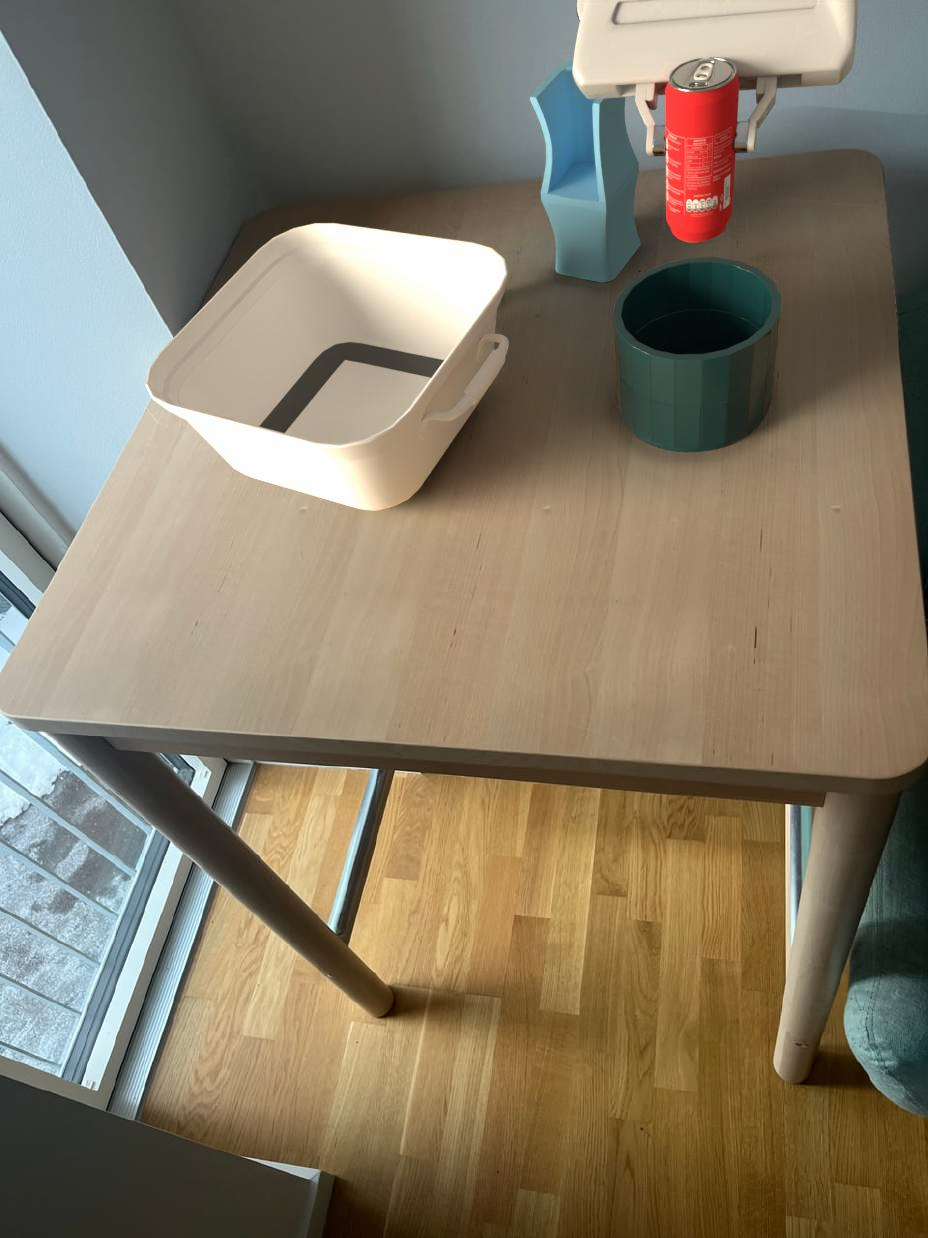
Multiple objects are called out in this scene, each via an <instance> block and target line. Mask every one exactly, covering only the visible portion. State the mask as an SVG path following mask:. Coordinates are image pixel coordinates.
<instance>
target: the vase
mask: <svg viewBox="0 0 928 1238" xmlns="http://www.w3.org/2000/svg"><path fill="white" fill-rule="evenodd" d="M529 101H530V103H531V106H532V107H533V110H534V112H535V114H536V117H537V119H538V121H539V123H540V127H541V130H542V133H543V138H544V142H545V168H544V173H543V178H542V184H541V189H540V199H541V203H542V206H543V207H544V210H545V212H546V214H547V216H548V219H549V222H550V224H551V228H552V231H553V235H554V242H555V265H554V266H555V268H554V269H555V272H556V273H557V274H558V275H562V276H567V277H571V278H575V279H576V278H577V279H583V280H587V281H591V282H592V281H593V282H596V283H597V282H598V283H609V282H611V281H613V280H615V279H616V278H617V277H618V276H619V274H621V272H622V271H623V269H624V268H625V267H626V266H627V264H628V263H629V261H630V260H631V259H632V257H633V256H634V255H635V254H636V252H637V251H638V249H640V247H641V246H642V243H641V239H640V237H639V234H638V230H637V226H636V222H635V213H634V211H635V209H634V208H635V195H636V189H637V188H636V187H637V183H638V177H639V176H638V175H639V172H640V164H639V163H640V162H639V159H638V158H637V156H636V153H635V151H634V148H633V146H632V144H631V141H630V138H629V134H628V130H627V125H626V97H620V98H603V99H588V98H587V97H585V95H584V94H583V93H582V92H581V90H580V89H579V88H578V86H577V85H576V83H575V80H574V77H573V60H569V61H566V62H564V63H561V64H560V65H559V66H558V67H557V68H556V69H555V70H554V71H552V73H551V74H550V75H549V76H548V77H547V78H546V79H545V80H544V81H543V82H542V83H541V84H540V86H538V88H537V89H536V90H535V91H534V92H533V93H532V94H531V95H530V96H529Z"/></svg>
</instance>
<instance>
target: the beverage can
mask: <svg viewBox="0 0 928 1238" xmlns="http://www.w3.org/2000/svg"><path fill="white" fill-rule="evenodd" d="M709 58H711V59H714V60H711V59H708V60H700V59H703V58H698V59H693V60H690V61H687V62H684V63H682V64H680V65H678V66H677V67H676V68H674V69H673V70H672V71H671V73H670V75H669V82H668V84H667V86H666V89H665V95H664V105H665V106H664V107H665V108H664V109H665V111H664V112H665V113H664V114H665V117H664V118H665V119H664V122H665V124H664V125H665V128H666V156H665V207H666V208H665V210H666V211H665V216H666V217H665V220H666V223H667V225H668V226H669V228H670V231H671V234H672V235H673V236H674V238H675V239H677V240H679V241H680V242H683V243H684V242H685V243H690V244H700V243H706V242H710V241H713V240H715V239H717V238H719V237H721V235H723V233H724V232H725V231H726V230H727V226H728V224H729V221H730V220H731V218H732V216H733V210H734V209H733V208H734V190H735V172H736V171H735V170H736V155H737V153H735V150H734V140H735V137H736V127H737V122H738V116H739V97H740V96H739V95H740V91H739V78H738V76H737V74H736V66H735V65H734V64H733V63H732V62H731V61H729V60H726V59H723V58H717V57H709ZM698 60H699V61H698Z"/></svg>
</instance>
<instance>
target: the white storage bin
mask: <svg viewBox="0 0 928 1238" xmlns="http://www.w3.org/2000/svg"><path fill="white" fill-rule="evenodd" d="M508 278H509V270H508V265H507V260H506V259H505V258H504V257H503V256H502V255H501V254H499V252H497V251H496V250H495V249H494V248H493V247H490V246H486V245H483V244H480V243H477V242H473V241H467V240H457V239H451V238H443V237H438V236H437V237H436V236H430V235H429V236H428V235H422V234H415V233H407V232H400V231H393V230H385V229H378V228H371V227H364V226H357V225H350V224H342V223H336V222H319V223H318V222H314V223H310V224H306V225H302V226H301V225H300V226H297V227H293V228H291V229H289V230H287V231H284V232H283V233H280V234H277V235H276V236H274V237H272V238H271V239H270V240H269V241H267V242H266V243H265V244H263V245H262V246H261V247H260V248H258V249H257V250H256V251H255V252H254V253H253V254H252V256H251V257H250V258H249V259H248V260H247V261H246V262H245V263H244V264H242V266H241V267H240V268H239V269H238V270H237V271H236V272H235V273H234V274H233V276H232V277H231V278H229V280H228V281H227V282H226V283H225V284H224V285H222V287H221V288H219V290H218V291H217V292H216V293H215V294H214V295H213V296H212V297H211V298H210V300H209V301H207V303H205V305H203V307H202V308H201V309H200V310H199V311H198V312H197V313H196V314H195V315H194V316H193V317H192V318H190V320H189V321H188V323H187V322H186V324H185V325H184V327H182V328H181V329H180V330H179V332H178V333H176V335H175V336H174V337H173V338H172V339H171V340H169V342H168V343H167V344H166V345H165V346H164V347H163V348H162V349H161V350H160V352H158V354H157V355H156V357H155V358H154V360H153V361H152V363H151V364H150V366H149V367H148V370H147V371H148V372H147V377H146V382H145V387H146V389H147V391H148V393H149V395H150V397H151V398H152V400H153V401H154V402H156V403H157V404H158V405H160V406H162V407H163V408H164V409H166V410H167V411H168V412H170V413H172V414H174V415H176V416H178V417H179V418H181V419H183V420H186V422H188V423H189V424H190V425H191V427H192V428H194V430H195V431H196V432H198V433H199V434H200V436H202V438H203V439H204V440H206V442H207V443H208V444H209V445H210V446H211V447H212V448H213V449H214V450H215V451H216V452H217V453H218V454H219V455H220V456H221V457H222V458H223V459H224V460H225V461H226V462H227V463H228V464H229V465H230V466H231V467H232V468H233V469H234V470H236V471H237V472H239V473H241V474H243V475H244V476H246V477H247V476H248V477H250V478H252V479H256V480H259V481H262V482H266V483H269V484H273V485H276V486H279V487H283V488H286V489H289V490H293V491H296V492H300V493H303V494H307V495H310V496H313V497H317V498H320V499H324V500H327V501H330V502H334V503H337V504H341V505H343V506H347V507H350V508H354V509H358V510H364V511H374V512H377V511H381V510H386V509H391V508H393V507H395V506H398V505H400V504H402V503H404V502H406V501H408V500H410V499H411V498H412V497H413V496H414V495H415V494H416V493H417V492H418V491H419V490H420V489H421V487H422V486H423V484H424V483H425V481H426V480H427V478H428V477H429V476H430V474H431V473H432V471H433V470H434V469H435V467H436V466H437V464H438V463H439V461H440V460H441V459H442V457H443V456H444V454H445V453H446V451H447V450H448V448H449V447H450V445H451V444H452V442H453V441H454V440H455V438H456V437H457V435H458V434H459V432H460V431H461V429H462V428H463V426H465V424H466V422H467V421H468V419H469V418H470V417H471V415H472V414H473V412H474V410H475V409H476V408H477V406H478V405H479V403H480V402H481V401H482V399H483V398H484V396H485V395H486V392H487V391H488V389H490V386H491V385H492V384H493V383H494V381H495V380H496V378H497V376H498V375H499V374H500V371H501V369H502V368H503V367H504V364H505V362H506V359H507V358H506V355H507V354H508V349H509V346H510V343H509V339H508V337H507V336H505V335H504V334H501V333H496V327H497V326H496V324H497V311H498V308H499V306H500V304H501V302H502V299H503V297H504V295H505V291H506V287H507V282H508ZM495 343H498V346H497V348H496V349H495Z"/></svg>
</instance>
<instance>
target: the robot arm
mask: <svg viewBox="0 0 928 1238" xmlns="http://www.w3.org/2000/svg"><path fill="white" fill-rule="evenodd" d="M858 6H859V1H858V0H576V7H575V9H576V17H577V19H578V21H579V23H578V29H577V34H576V40H575V46H574V53H573V58H572V59H573V60H572V61H573V77H574V80H575V83H576V85H577V86H578V88H579V89H580V90H581V92H582V93H583V94H584V95H585V97H587V98H588V99H603V98H620V97H625V98H634V102H635V105H636V108H637V110H638V112H639V115H640V117H641V119H642V121H643V124H644V126H645V128H646V130H647V131H646V142H645V152H646V155H647V157H648V158H653V157H656V158H657V157H666V128H665V124H664V125H661V124H660V125H658V124H657V123H656V121H655V119H654V116H653V114H652V112H651V111H655V110H657V109H658V101H659V96H665V89H666V86H667V84H668V82H669V75H670V73H671V71H672V70H673V69H674V68H676V67H677V66H678V65H680V64H682V63H684V62H687V61H690V60H693V59H698V58H703V59H700V60H708V59H711V58H709V57H717V58H723V59H726V60H729V61H731V62H732V63H733V64H734V65H735V66H736V74H737V76H738V78H739V92H741V91H755V103H756V106H755V108H754V109H753V111H752V113H751V115H750V116H749V118H748V119H747V120H745V121H744V120H743V121H737V127H736V137H735V140H734V150H735V153H736V154H754V153H755V151H756V144H757V135H758V134H757V132H758V129H760V128H761V126H762V124H763V123H764V122H765V120H766V119H767V117H768V116H769V114H770V112H771V111H772V110H773V108H774V107H775V105H776V100H777V91H778V89H791V88H807V87H808V88H809V87H825V86H836V85H839V84H840V83H841V82H843V80H845V78H847V76H848V75H849V74H850V73H851V71H852V70H853V65H854V63H855V62H854V61H855V54H856V47H857V46H856V44H857V33H858V14H859V13H858V11H859V10H858ZM711 60H714V59H711ZM698 61H699V60H698Z"/></svg>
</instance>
